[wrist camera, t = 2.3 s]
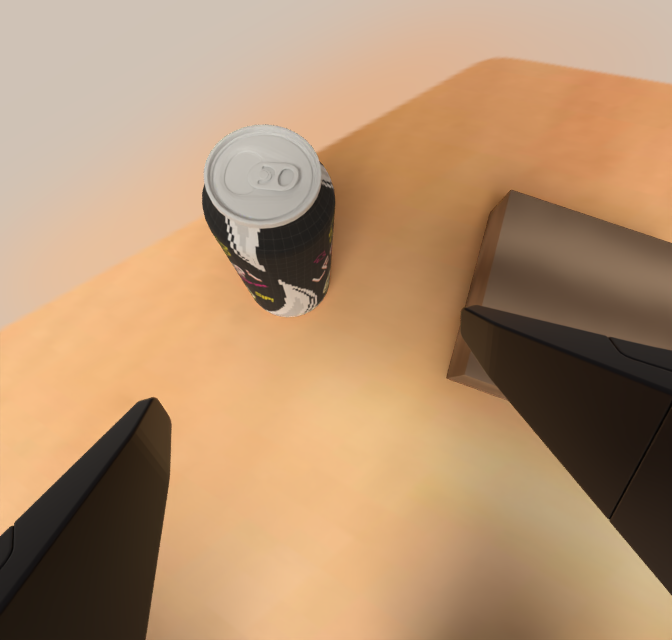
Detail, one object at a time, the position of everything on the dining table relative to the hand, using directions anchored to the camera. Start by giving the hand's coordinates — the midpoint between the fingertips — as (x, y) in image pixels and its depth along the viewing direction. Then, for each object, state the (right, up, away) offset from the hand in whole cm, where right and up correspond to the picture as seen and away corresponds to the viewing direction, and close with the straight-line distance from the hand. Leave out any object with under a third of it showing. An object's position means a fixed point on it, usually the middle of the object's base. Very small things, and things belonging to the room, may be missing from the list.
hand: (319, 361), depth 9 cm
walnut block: (+17, +1, +15) cm, 23 cm away
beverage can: (-3, +4, +15) cm, 16 cm away
